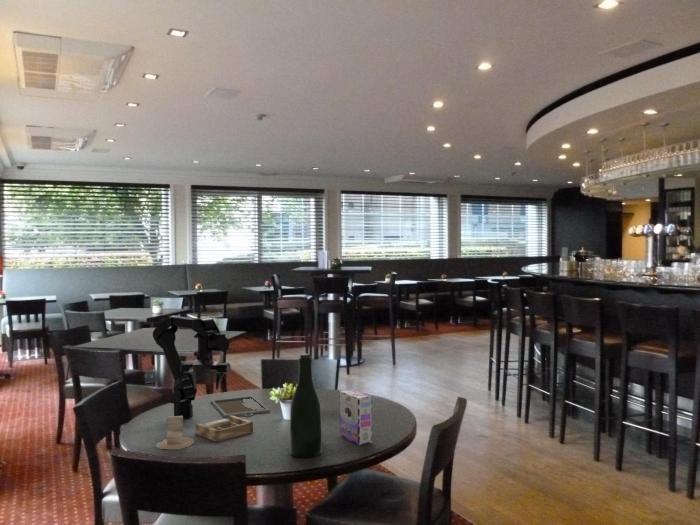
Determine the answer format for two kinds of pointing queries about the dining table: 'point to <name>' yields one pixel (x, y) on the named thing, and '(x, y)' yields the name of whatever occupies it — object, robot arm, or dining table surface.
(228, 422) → the frame
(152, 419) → the dining table surface
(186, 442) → the cork mat
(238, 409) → the picture frame
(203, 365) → the robot arm
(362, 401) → the candy box
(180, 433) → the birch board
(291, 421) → the green wine bottle
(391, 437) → the dining table surface
